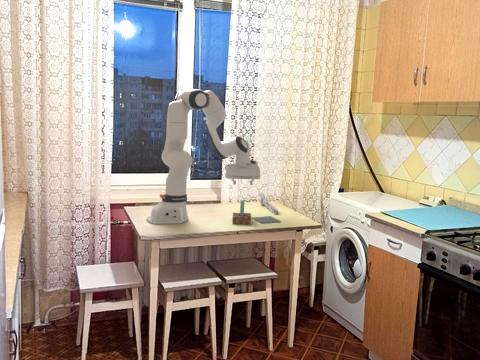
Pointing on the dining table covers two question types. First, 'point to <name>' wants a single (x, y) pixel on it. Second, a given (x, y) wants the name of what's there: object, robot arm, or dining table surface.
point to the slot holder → (242, 218)
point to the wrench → (267, 204)
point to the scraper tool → (242, 208)
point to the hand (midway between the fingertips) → (242, 184)
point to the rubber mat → (265, 219)
